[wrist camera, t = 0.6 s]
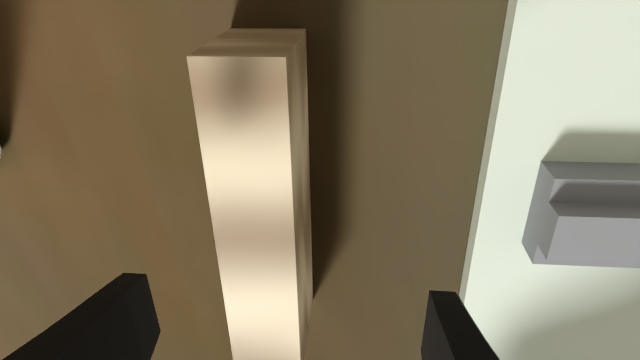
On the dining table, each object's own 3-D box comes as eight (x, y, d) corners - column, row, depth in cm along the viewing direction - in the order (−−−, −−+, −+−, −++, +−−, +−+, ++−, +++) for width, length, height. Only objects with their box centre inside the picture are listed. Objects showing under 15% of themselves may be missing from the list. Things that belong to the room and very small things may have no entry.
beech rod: (313, 296, 24) (301, 376, 20) (258, 293, 24) (235, 371, 20) (306, 27, 17) (285, 57, 13) (231, 27, 18) (186, 56, 13)
